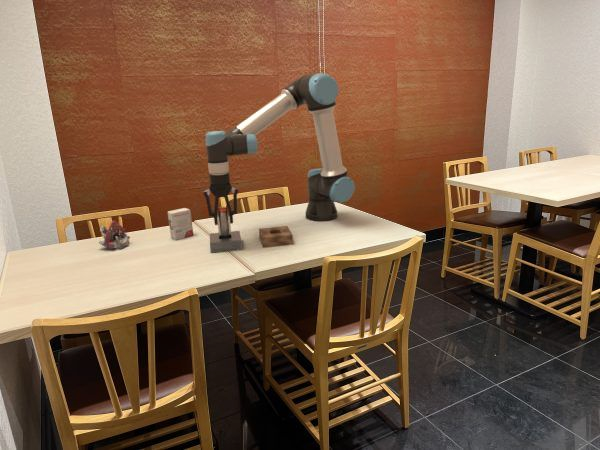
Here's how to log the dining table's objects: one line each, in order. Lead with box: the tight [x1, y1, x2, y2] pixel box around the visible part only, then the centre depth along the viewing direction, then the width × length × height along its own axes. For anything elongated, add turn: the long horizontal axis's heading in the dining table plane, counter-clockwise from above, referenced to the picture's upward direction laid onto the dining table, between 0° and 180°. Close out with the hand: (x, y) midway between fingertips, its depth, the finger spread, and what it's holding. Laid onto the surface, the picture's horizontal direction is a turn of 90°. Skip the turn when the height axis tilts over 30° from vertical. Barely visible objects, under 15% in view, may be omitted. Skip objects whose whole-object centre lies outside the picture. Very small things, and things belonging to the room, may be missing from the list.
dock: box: [209, 230, 243, 254], centre depth 175 cm, size 12×12×4 cm
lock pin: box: [217, 206, 230, 239], centre depth 173 cm, size 3×3×16 cm
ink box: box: [167, 207, 194, 241], centre depth 188 cm, size 9×5×12 cm, turn 129°
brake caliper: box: [98, 220, 131, 250], centre depth 180 cm, size 11×11×12 cm
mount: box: [258, 225, 294, 248], centre depth 179 cm, size 12×12×4 cm
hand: (224, 231), depth 174 cm, fingers closed on lock pin, 3 cm apart
